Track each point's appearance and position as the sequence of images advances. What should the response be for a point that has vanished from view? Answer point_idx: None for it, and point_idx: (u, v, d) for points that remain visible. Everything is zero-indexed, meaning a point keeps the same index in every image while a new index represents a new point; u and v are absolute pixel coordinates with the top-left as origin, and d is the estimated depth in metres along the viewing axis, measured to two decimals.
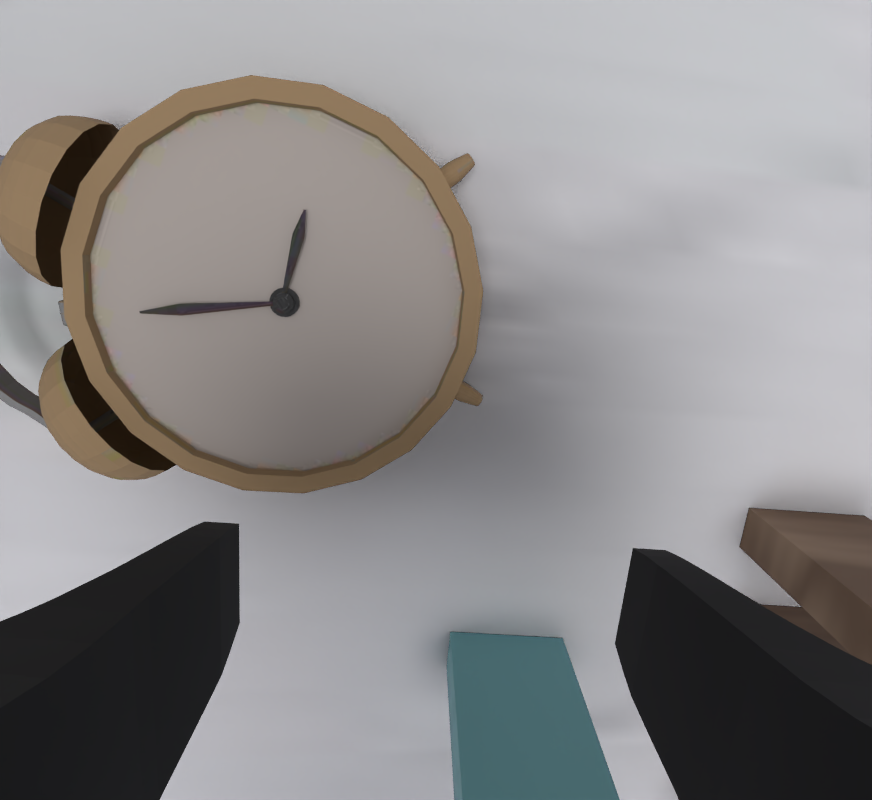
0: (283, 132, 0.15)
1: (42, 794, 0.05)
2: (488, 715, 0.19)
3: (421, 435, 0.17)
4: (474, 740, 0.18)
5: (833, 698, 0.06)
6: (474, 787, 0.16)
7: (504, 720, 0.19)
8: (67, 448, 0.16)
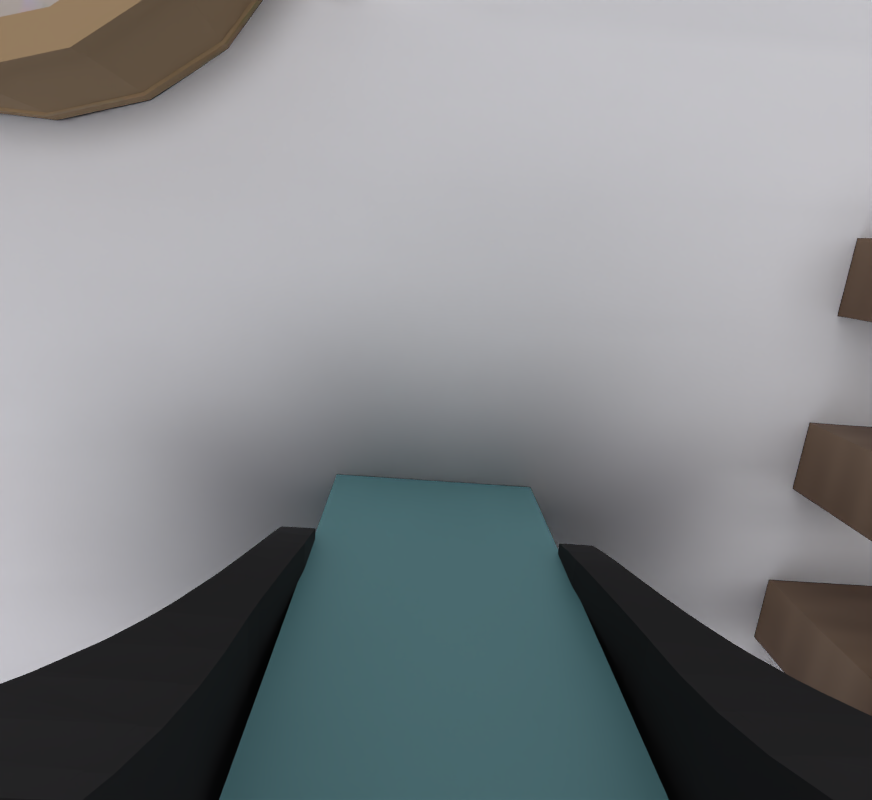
0: None
1: None
2: (366, 577, 0.09)
3: None
4: (322, 612, 0.08)
5: (704, 692, 0.06)
6: (288, 696, 0.07)
7: (397, 584, 0.09)
8: None
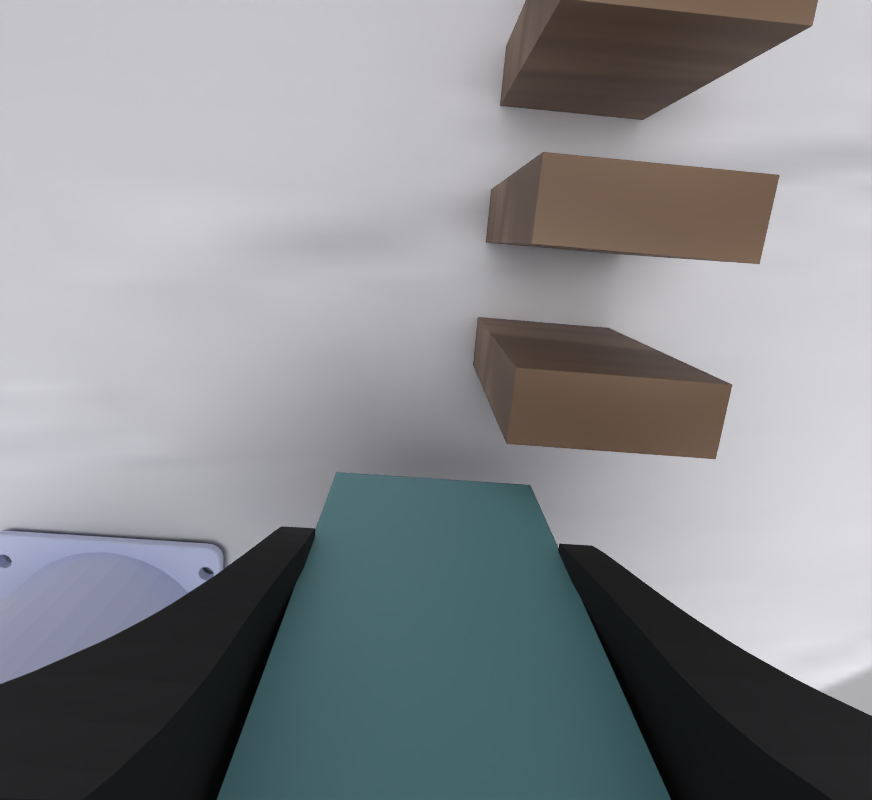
0: None
1: None
2: (366, 574, 0.09)
3: None
4: (321, 609, 0.08)
5: (704, 692, 0.06)
6: (287, 692, 0.07)
7: (397, 581, 0.09)
8: None
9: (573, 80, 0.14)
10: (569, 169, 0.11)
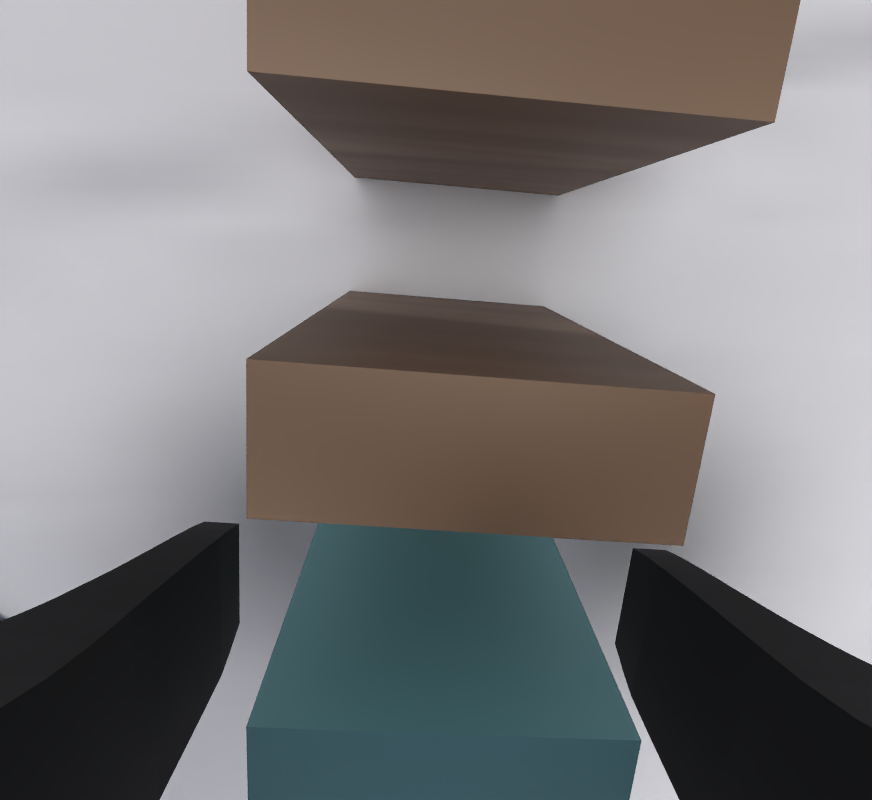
0: None
1: (42, 794, 0.05)
2: (370, 546, 0.10)
3: None
4: (331, 576, 0.09)
5: (833, 698, 0.06)
6: (303, 643, 0.08)
7: (398, 552, 0.10)
8: None
9: None
10: None
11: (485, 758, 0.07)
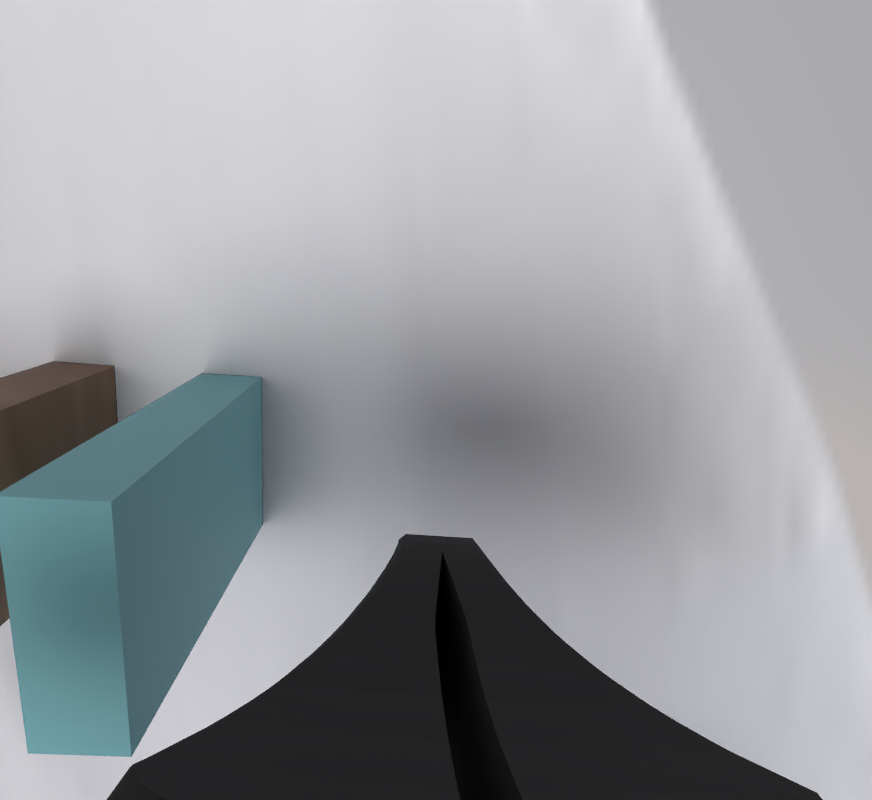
0: None
1: None
2: None
3: None
4: None
5: (490, 681, 0.06)
6: None
7: None
8: None
9: None
10: None
11: (30, 606, 0.09)
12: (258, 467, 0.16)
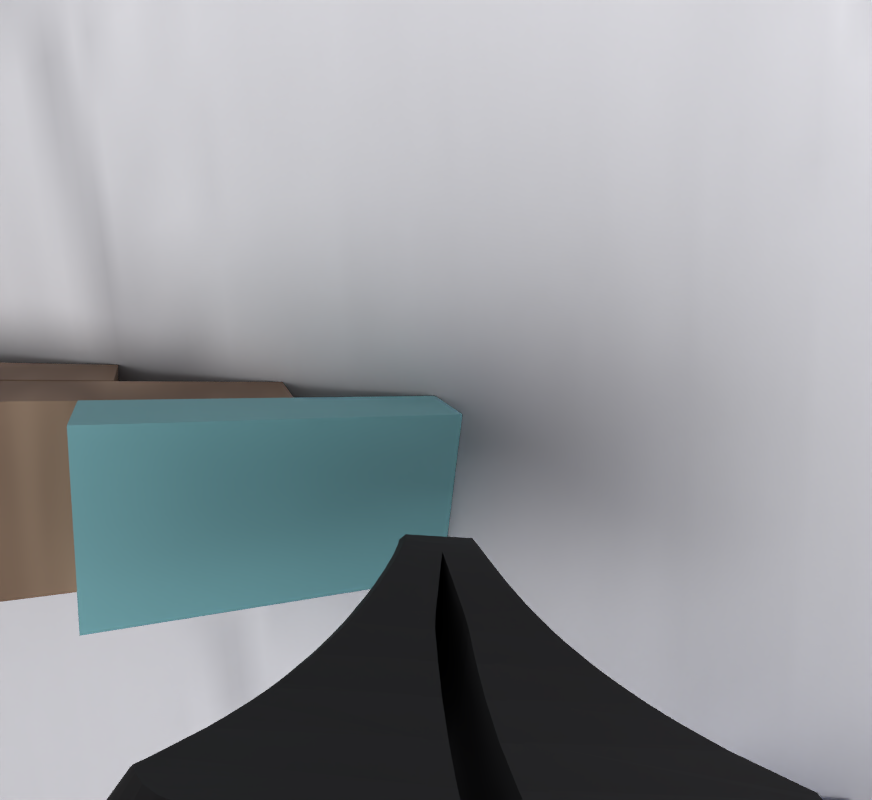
0: None
1: None
2: None
3: None
4: None
5: (490, 681, 0.06)
6: None
7: None
8: None
9: None
10: None
11: None
12: (435, 510, 0.14)
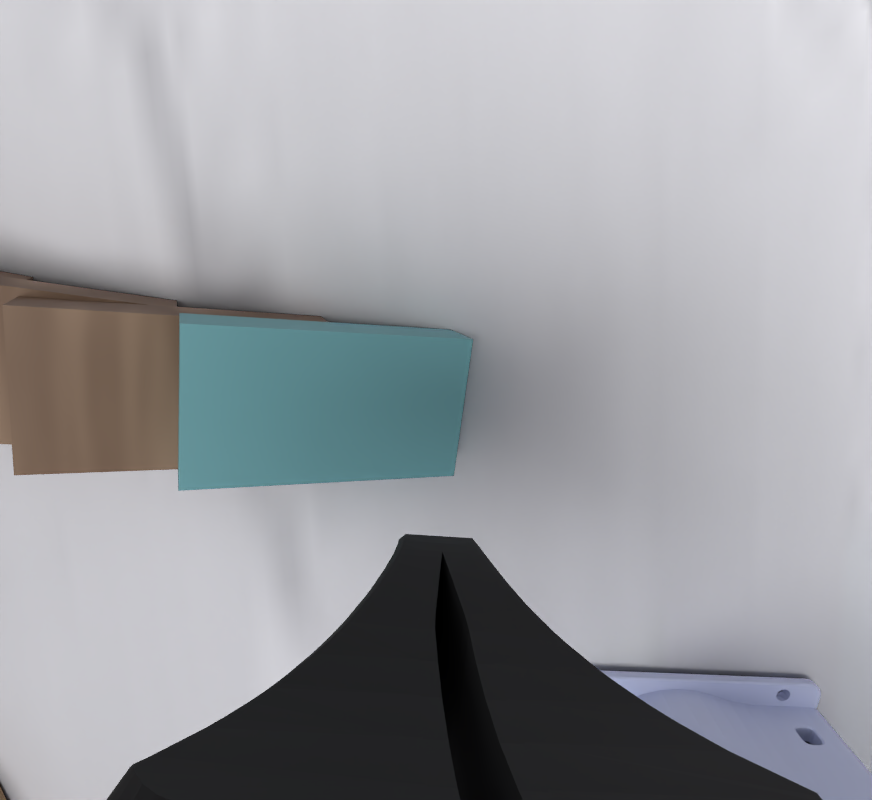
0: None
1: None
2: None
3: None
4: None
5: (490, 681, 0.06)
6: None
7: None
8: None
9: None
10: None
11: None
12: (449, 418, 0.18)
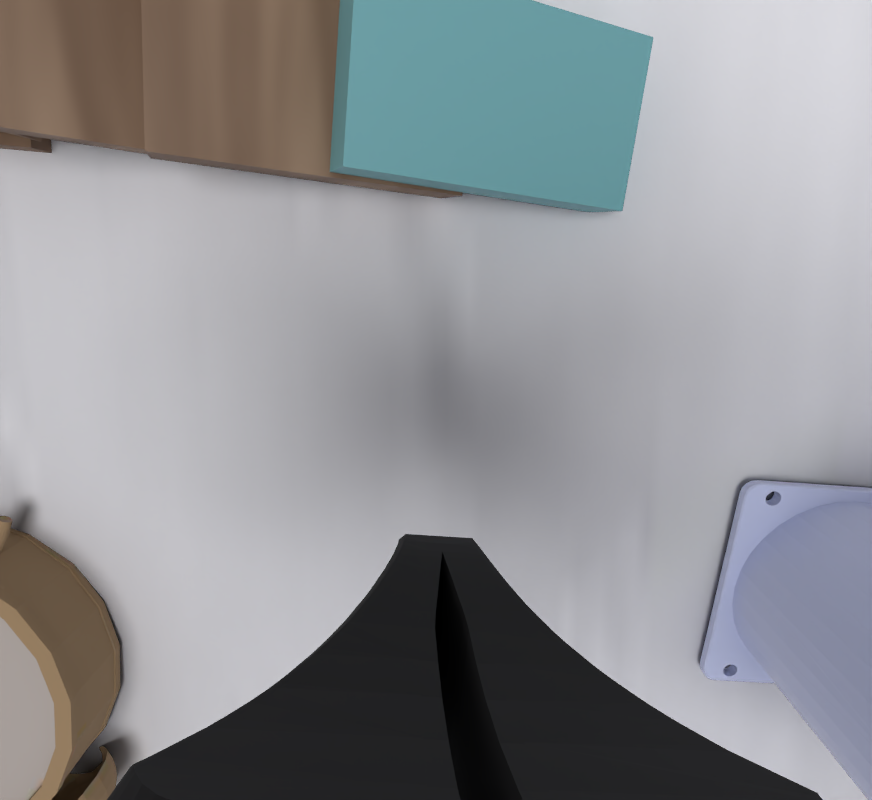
0: None
1: None
2: None
3: None
4: None
5: (490, 681, 0.06)
6: None
7: None
8: None
9: None
10: None
11: (339, 53, 0.14)
12: (623, 134, 0.16)
